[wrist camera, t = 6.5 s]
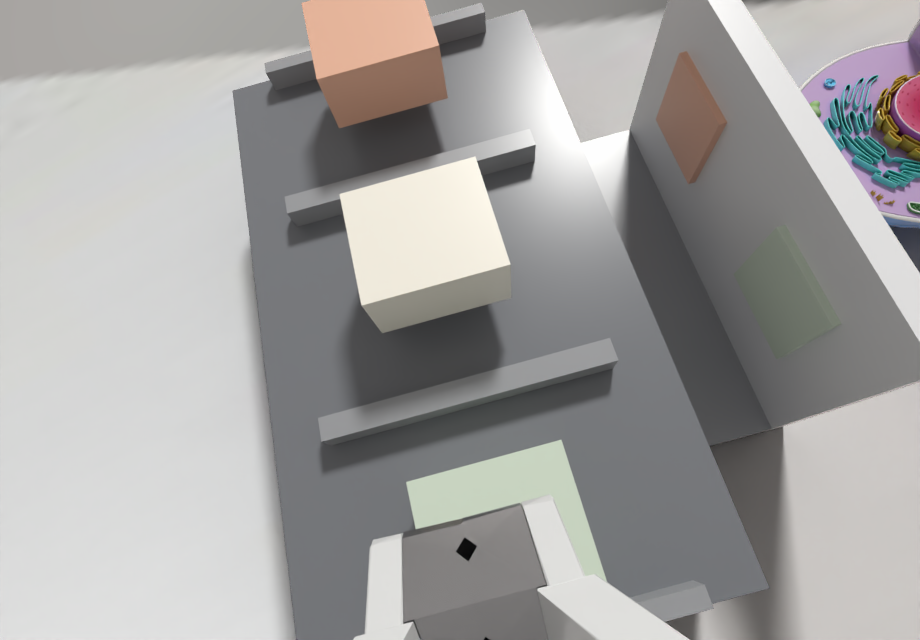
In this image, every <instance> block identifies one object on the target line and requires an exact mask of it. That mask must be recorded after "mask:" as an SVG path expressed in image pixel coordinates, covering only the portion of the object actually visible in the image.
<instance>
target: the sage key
mask: <svg viewBox="0 0 920 640" xmlns="http://www.w3.org/2000/svg"><path fill="white" fill-rule="evenodd" d="M406 484H407V489H408V494H409V499H410V504H411V509H412V513H413V518H414V523H415V528H416V529H419V528H423V527H427V526H432V525H436V524H440V523H445V522H449V521H453V520H458V519H462V518H464V517H468V516H472V515H476V514H479V513H483V512H487V511H491V510H494V509H498V508H502V507H505V506H509V505H513V504H517V503H520V504H521V502H523V501H527V500H530V499H534V498H538V497H541V496H545V495H549V494H550V495H551V496H552V497H553V498H554V500H555V503H556V505H557V508H558V510H559V513H560V515H561V517H562V520H563V522H564V525H565V527H566V530H567V532H568V535H569V537H570V540H571V542H572V544H573V547H574V549H575V552H576V554H577V557H578V559H579V562H580V564H581V566H582V569H583V571H584V574H585V576H588V575H593V574H596V575H597V576H599V577H600V578H602V579H603V580H605V581H606V582H607V580H606V577H605V574H604V571H603V568H602V565H601V561H600V558H599V555H598V552H597V549H596V546H595V543H594V540H593V537H592V533H591V530H590V527H589V524H588V521H587V518H586V515H585V512H584V509H583V505H582V502H581V499H580V496H579V493H578V490H577V487H576V484H575V481H574V477H573V474H572V471H571V468H570V465H569V462H568V459H567V456H566V453H565V449H564V446H563V443H562V440H558V441H554V442H551V443H547V444H543V445H540V446H536V447H532V448H529V449H525V450H522V451H518V452H514V453H511V454H507V455H503V456H500V457H496V458H492V459H489V460H485V461H481V462H478V463H474V464H470V465H467V466H463V467H459V468H456V469H452V470H448V471H445V472H441V473H437V474H434V475H430V476H426V477H423V478H419V479H415V480H412V481H408V482H406Z"/></svg>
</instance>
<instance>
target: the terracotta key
mask: <svg viewBox="0 0 920 640" xmlns="http://www.w3.org/2000/svg"><path fill="white" fill-rule="evenodd" d="M302 8H303V13H304V18H305V22H306V28H307V33H308V38H309V43H310V48H311V53H312V58H313V63H314V68H315V73H316V79H317V81H318V83H319V86H320V88H321V90H322V92H323V94H324V96H325V99H326V101H327V103H328V105H329V107H330V109H331V112H332V114H333V116H334V118H335V120H336V122H337V125H338V127H339V128H343V127H346V126H350V125H353V124H357V123H361V122H364V121H368V120H371V119H375V118H379V117H382V116H386V115H389V114H393V113H397V112H400V111H404V110H407V109H411V108H415V107H418V106H422V105H425V104H429V103H433V102H436V101H440V100H443V99H447V98H448V96H447V90H446V84H445V77H444V71H443V65H442V59H441V53H440V47H439V43H438V40H437V37H436V34H435V31H434V28H433V25H432V22H431V19H430V16H429V13H428V9H427V7H426V3H425V0H310V1H307V2H303V3H302Z"/></svg>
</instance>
